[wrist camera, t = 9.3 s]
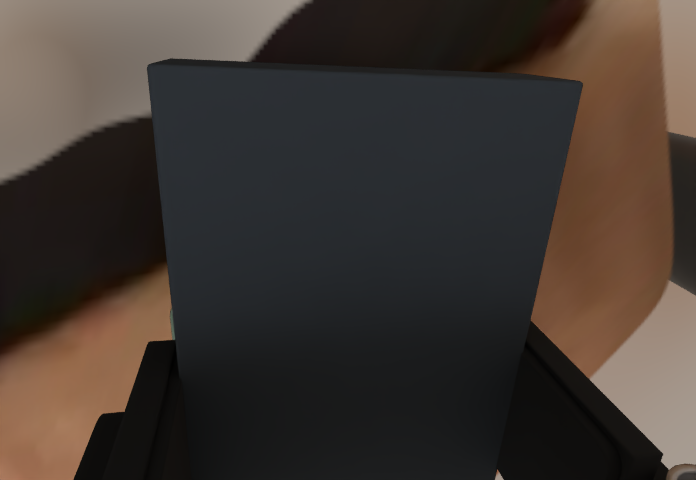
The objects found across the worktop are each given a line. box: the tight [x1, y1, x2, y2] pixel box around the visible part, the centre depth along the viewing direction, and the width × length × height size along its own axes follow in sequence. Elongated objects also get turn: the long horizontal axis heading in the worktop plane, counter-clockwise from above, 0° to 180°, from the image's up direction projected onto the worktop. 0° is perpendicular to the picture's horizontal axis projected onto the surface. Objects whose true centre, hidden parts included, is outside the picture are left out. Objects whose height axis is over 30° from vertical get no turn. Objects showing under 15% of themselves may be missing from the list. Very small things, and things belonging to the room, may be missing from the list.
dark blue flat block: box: [147, 59, 583, 480], centre depth 10 cm, size 6×13×2 cm, turn 177°
